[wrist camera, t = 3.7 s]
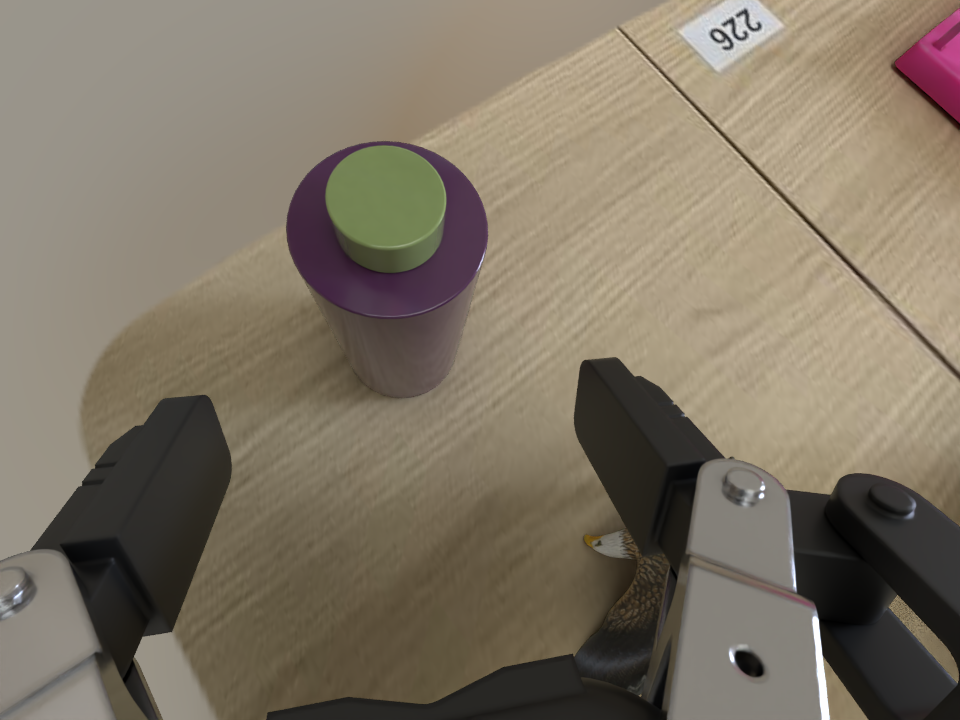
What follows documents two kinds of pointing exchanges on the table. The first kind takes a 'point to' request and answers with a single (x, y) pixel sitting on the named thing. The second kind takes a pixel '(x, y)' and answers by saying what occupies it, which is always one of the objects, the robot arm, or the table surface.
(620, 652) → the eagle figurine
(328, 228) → the purple bottle
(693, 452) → the robot arm
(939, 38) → the file sorter
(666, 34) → the table surface
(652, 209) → the table surface
